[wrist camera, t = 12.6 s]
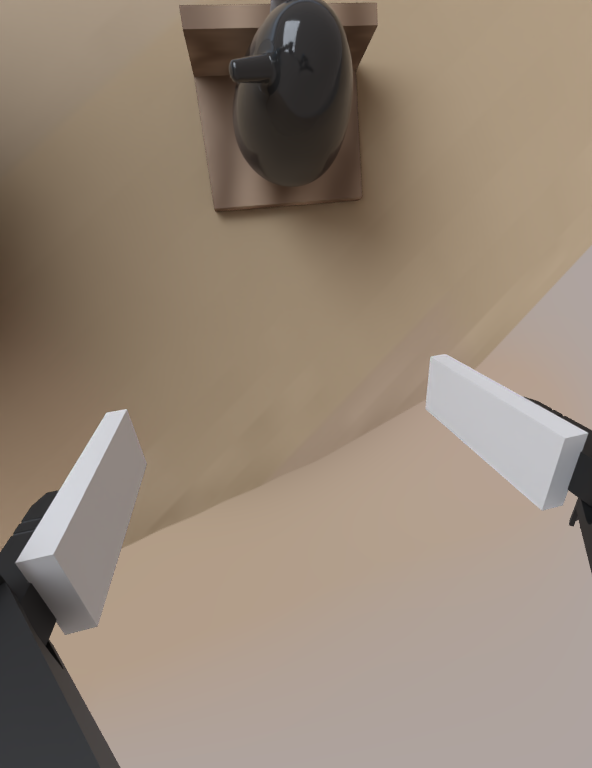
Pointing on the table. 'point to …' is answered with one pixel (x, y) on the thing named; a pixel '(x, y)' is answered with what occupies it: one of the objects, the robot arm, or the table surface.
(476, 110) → the table surface
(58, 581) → the robot arm
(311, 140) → the pump dispenser
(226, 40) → the stand
